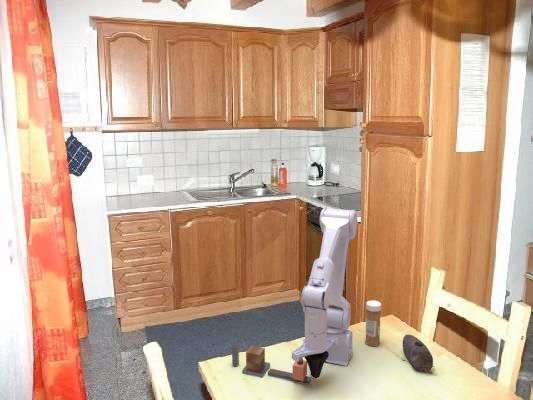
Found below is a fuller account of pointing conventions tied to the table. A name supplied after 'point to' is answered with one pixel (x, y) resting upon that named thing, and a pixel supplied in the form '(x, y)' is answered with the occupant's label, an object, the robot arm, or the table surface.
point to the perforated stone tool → (417, 353)
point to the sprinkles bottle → (373, 323)
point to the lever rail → (287, 376)
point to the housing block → (255, 358)
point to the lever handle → (300, 369)
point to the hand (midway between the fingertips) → (315, 376)
